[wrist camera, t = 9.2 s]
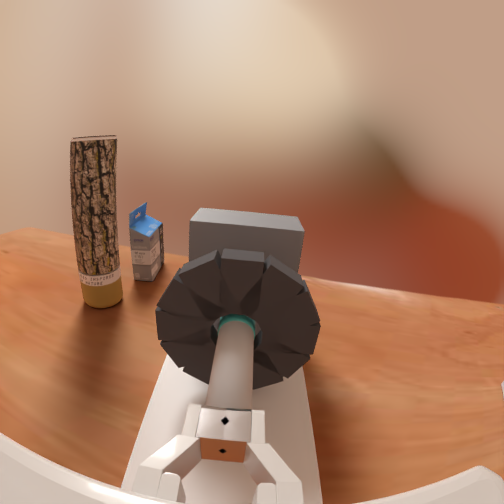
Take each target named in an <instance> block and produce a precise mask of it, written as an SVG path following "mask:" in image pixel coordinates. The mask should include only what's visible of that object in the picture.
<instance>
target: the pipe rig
mask: <svg viewBox="0 0 504 504" xmlns="http://www.w3.org/2000/svg"><path fill="white" fill-rule="evenodd" d="M303 238H304V229H303V227H302V225H301V223H300V221H299V220H298V218H297V217H293V216H284V215H274V214H264V213H254V212H243V211H232V210H221V209H208V208H200V209H199V210H198V211H197V213H196V214H195V215H194V216H193V217H192V218H191V220H190V231H189V262H190V261H192V260H195V259H197V258H199V257H202V256H204V255H206V254H208V253H211V252H213V251H215V250H218V251H219V253H220V255H221V256H222V253H223V250H224V249H235V250H245V251H256V252H264V261H265V260H266V259H267V258H268V256H269V255H272V256H273V257H274V258H276V259H277V260H279V261H280V262H282V263H283V264H285V265H286V266H288V267H289V268H291V269H292V270H294V271H295V272H297V273H298V269H299V263H300V257H301V251H302V245H303ZM213 325H214V327H215V328H216V330H217V332H218V339H217V344H216V349H215V355H214V360H213V365H212V371H211V376H210V381H209V385H208V384H206V383H204V382H202V381H200V380H198V379H196V378H194V377H192V376H190V375H188V374H187V373H185V372H183V368H184V367H181V368H178V367H177V366H176V364H175V363H174V362H173V360H172V359H171V358H170V357H169V355H168V354H167V356H166V359H165V361H164V364H163V367H162V369H161V372H160V375H159V377H158V380H157V383H156V386H155V388H154V391H153V394H152V397H151V399H150V402H149V405H148V408H147V410H146V413H145V416H144V419H143V422H142V425H141V428H140V430H139V433H138V436H137V439H136V442H135V445H134V448H133V451H132V454H131V457H130V460H129V463H128V466H127V470H126V473H125V476H124V479H123V482H122V485H121V488H122V489H125V490H129V491H131V490H132V486H133V483H134V479H135V476H136V473H137V469H138V466H139V464H141V463H142V462H143V461H145V460H146V459H147V458H149V457H150V456H151V455H152V454H154V453H155V452H156V451H158V450H159V449H160V448H161V447H163V446H164V445H165V444H166V443H168V442H169V441H170V440H171V439H173V438H174V437H175V436H176V435H177V434H179V435H181V434H182V429H183V425H184V421H185V416H186V412H187V408H188V405H189V403H193V404H200V405H206V406H213V407H221V408H236V409H251V410H264V412H265V441H266V443H269V444H270V445H271V446H272V448H273V449H274V450H275V451H276V452H277V454H278V455H279V456H280V457H281V458H282V460H283V461H284V462H285V463H286V464H287V466H288V467H289V468H290V469H291V470H292V471H293V473H294V474H295V475H296V476H297V477H298V478H299V479H300V481H301V482H302V491H303V502H304V504H323V501H322V493H321V485H320V477H319V470H318V463H317V455H316V448H315V441H314V435H313V428H312V421H311V415H310V408H309V402H308V396H307V390H306V383H305V377H304V371H303V366H302V367H301V368H299V369H298V370H297V371H296V372H295V373H294V374H293V375H292V376H290V377H289V378H286V377H284V376H283V381H282V382H279V383H276V384H272V385H269V386H265V387H262V388H258V389H255V390H253V389H252V387H253V349H254V339H255V336H256V335H257V334H258V332H259V331H260V330H261V328H260V327H259V325H258V323H257V322H256V321H254V320H253V319H251V318H249V317H247V316H246V315H238V314H229V315H226V316H223V317H220V318H218V319H217V320H216V321H215V323H214V324H213ZM181 481H182V485H183V488H184V492H185V495H186V501H185V503H186V504H251V503H252V500H253V497H254V494H255V491H256V488H257V484H256V483H255V481H254V480H253V478H252V477H251V475H250V474H249V472H248V471H247V469H246V467H245V466H244V464H243V463H239V462H229V461H220V460H209V459H201V461H200V462H199V463H198V464H197V465H196V466H195V467H194V468H193V469H192V470H191V471H190V472H189V473H188V474H187V475H186V476H185V477H184V478H183V479H182V480H181Z"/></svg>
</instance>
